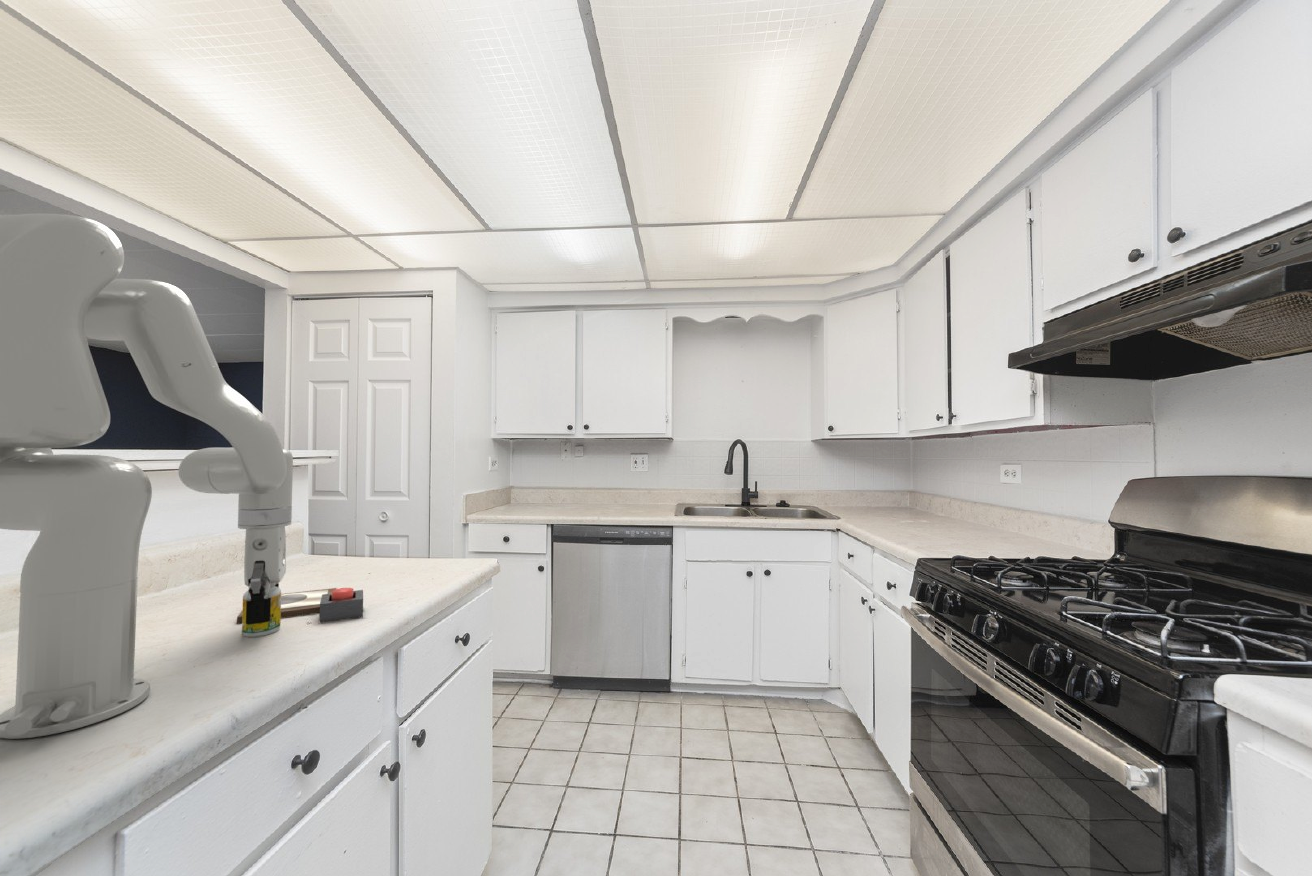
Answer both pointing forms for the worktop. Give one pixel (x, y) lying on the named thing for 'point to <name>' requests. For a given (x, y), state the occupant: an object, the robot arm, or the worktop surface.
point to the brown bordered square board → (299, 603)
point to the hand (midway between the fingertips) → (263, 614)
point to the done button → (342, 594)
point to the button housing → (341, 607)
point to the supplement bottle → (275, 615)
